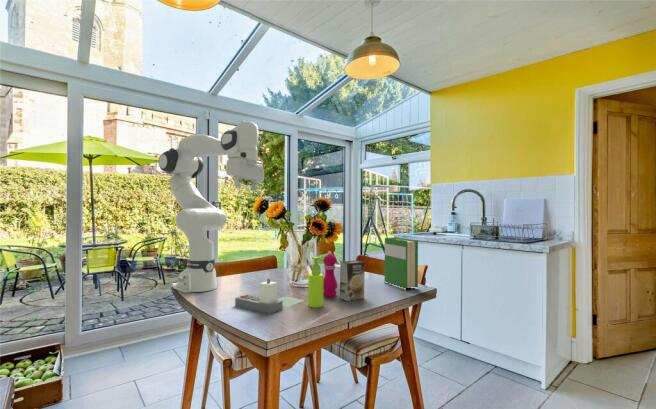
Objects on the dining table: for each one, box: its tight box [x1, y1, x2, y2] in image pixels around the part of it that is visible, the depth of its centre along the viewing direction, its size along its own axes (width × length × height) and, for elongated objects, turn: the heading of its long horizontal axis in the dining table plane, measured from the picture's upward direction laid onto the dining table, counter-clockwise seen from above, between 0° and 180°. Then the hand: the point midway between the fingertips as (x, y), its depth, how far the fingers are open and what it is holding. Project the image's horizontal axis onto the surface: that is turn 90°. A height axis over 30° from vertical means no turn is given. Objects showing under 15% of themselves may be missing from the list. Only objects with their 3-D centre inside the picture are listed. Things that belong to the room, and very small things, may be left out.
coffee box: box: [339, 260, 366, 302], centre depth 141 cm, size 9×6×16 cm
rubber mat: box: [277, 296, 306, 308], centre depth 132 cm, size 11×11×1 cm
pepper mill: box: [322, 250, 338, 298], centre depth 146 cm, size 7×7×20 cm
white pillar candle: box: [259, 278, 278, 304], centre depth 122 cm, size 4×4×12 cm
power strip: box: [234, 293, 284, 315], centre depth 124 cm, size 18×7×5 cm, turn 58°
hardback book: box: [384, 236, 419, 289], centre depth 164 cm, size 18×7×24 cm, turn 24°
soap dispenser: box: [307, 255, 325, 308], centre depth 128 cm, size 6×7×20 cm
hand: (245, 189), depth 137 cm, fingers open, 8 cm apart
